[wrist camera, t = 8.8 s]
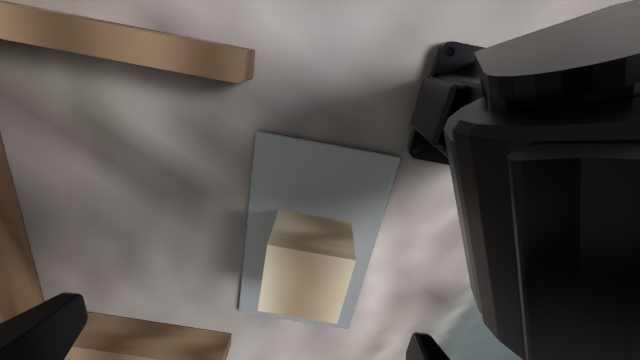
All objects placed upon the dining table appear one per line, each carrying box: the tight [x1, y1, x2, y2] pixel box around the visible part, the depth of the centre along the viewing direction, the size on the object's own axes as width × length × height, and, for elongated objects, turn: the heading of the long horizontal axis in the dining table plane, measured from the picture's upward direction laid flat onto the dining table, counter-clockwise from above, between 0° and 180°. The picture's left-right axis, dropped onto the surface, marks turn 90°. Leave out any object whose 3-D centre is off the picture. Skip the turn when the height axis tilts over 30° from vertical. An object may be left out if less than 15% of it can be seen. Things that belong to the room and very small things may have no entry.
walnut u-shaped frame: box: [0, 1, 255, 360], centre depth 19 cm, size 17×24×3 cm
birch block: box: [258, 209, 356, 324], centre depth 19 cm, size 5×5×4 cm
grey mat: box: [239, 131, 401, 329], centre depth 21 cm, size 9×15×1 cm, turn 170°
